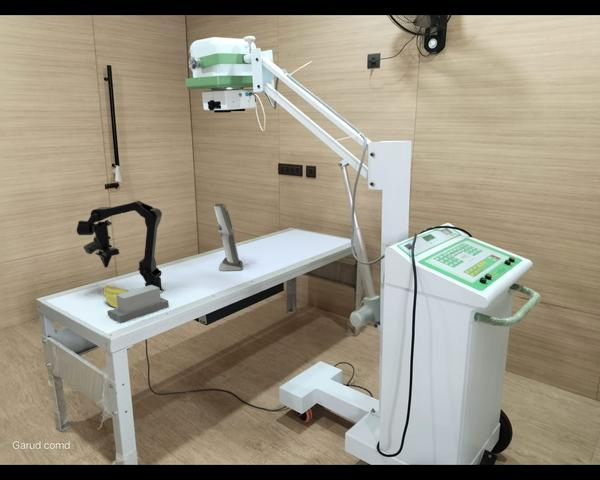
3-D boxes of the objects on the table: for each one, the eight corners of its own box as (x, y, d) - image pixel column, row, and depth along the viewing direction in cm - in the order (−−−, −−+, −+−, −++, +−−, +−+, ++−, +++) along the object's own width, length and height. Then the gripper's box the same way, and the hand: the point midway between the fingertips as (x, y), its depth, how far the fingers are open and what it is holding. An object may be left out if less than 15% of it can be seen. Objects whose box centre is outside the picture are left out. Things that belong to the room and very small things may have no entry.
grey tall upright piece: (219, 265, 264) (215, 202, 256) (243, 264, 265) (239, 202, 257) (218, 271, 253) (213, 206, 245) (242, 270, 254) (238, 205, 246)
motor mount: (154, 300, 213) (151, 280, 211) (168, 307, 205) (166, 286, 203) (106, 315, 198) (103, 294, 196) (120, 323, 190) (117, 301, 188)
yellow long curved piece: (149, 297, 211) (132, 294, 202) (144, 313, 210) (127, 311, 202) (119, 287, 221) (102, 284, 212) (114, 303, 220) (97, 300, 211)
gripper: (75, 235, 221) (80, 267, 225) (93, 241, 209) (98, 275, 213) (99, 231, 229) (103, 262, 233) (117, 236, 217) (121, 269, 220)
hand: (106, 267), depth 224 cm, fingers closed
